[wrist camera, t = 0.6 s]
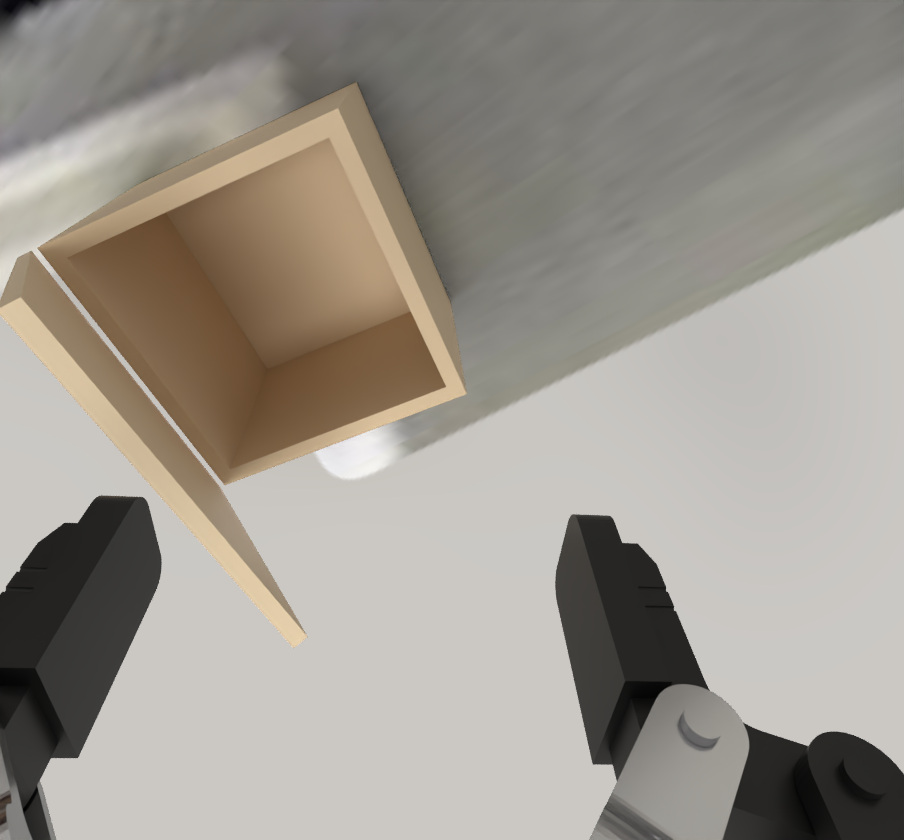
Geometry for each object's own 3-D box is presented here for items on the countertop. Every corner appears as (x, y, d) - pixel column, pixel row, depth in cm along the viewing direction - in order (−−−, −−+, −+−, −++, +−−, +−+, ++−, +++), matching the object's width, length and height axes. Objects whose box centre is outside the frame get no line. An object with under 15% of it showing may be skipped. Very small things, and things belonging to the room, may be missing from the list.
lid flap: (20, 297, 15) (-9, 312, 15) (307, 636, 22) (291, 650, 22) (31, 250, 26) (15, 258, 26) (219, 487, 33) (208, 495, 33)
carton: (356, 81, 34) (337, 108, 24) (450, 302, 41) (466, 393, 31) (138, 183, 36) (37, 248, 26) (265, 377, 43) (224, 485, 33)
